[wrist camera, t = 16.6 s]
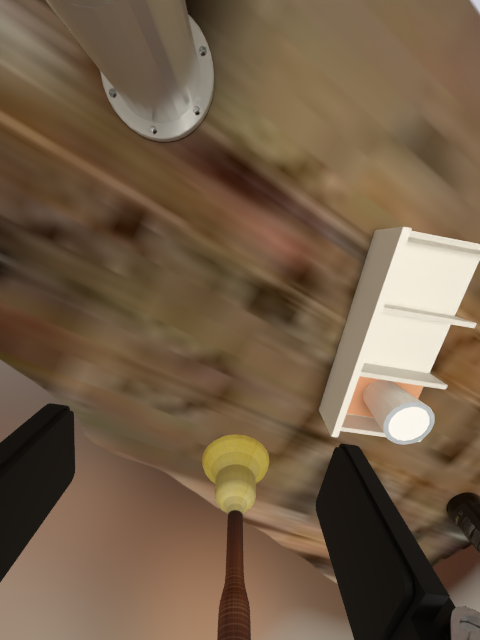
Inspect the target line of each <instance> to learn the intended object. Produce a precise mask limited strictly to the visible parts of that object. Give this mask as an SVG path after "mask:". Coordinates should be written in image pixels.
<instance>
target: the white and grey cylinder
mask: <svg viewBox="0 0 480 640" xmlns="http://www.w3.org/2000/svg"><path fill="white" fill-rule="evenodd" d="M363 401H364V402H365V404H366V405H367V407H368V409H369V410H370V412H371V413H372V415H373V416H374V418H375V420H376V421H377V423H378V424H379V426H380V427H381V429H382V431H383V432H384V434H385V435H386V437H387V438H388V439H389V440H390V441H392V442H394V443H396V444H403V445H405V444H411V443H415V442H417V441H419V440H421V439H423V438H424V437H425V436H426V435H427V434H428V433H429V432H430V431H431V429H432V427H433V425H434V413H433V412H432V410H431V408H430V407H428V406H427V405H425V404H424V403H423V402H421V401H420V400H418V399H417V398H415V397H414V396H412V395H411V394H410V393H408V392H407V391H405V390H404V389H402V388H401V387H399V386H398V385H397V384H395V383H394V382H392V381H387V380H381V379H379V380H375V381H373V382H372V383H370V384H369V385H368V386H367V387H366V388H365V390H364V393H363Z"/></svg>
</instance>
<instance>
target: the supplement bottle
mask: <svg viewBox="0 0 480 640" xmlns="http://www.w3.org/2000/svg"><path fill="white" fill-rule="evenodd" d="M447 510H448V513H449V515H450V517H451V518H452V519H453V521H454V522H455V523H456V525H457V526H458V527H459V528H460V530H461V531H462V532H463V533H464V535H465V536H466V537H467V539H468V540H469V541H470V542H471V544H472V545H473V546H474V547H475V549H476V550H477V551H478V553H479V554H480V497H479V496H477V495H475V494H471V493H465V494H461V495H458V496H456V497H455V498H453V499H452V500H451V501H450V502H449V504H448V508H447Z"/></svg>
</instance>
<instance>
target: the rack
mask: <svg viewBox="0 0 480 640" xmlns="http://www.w3.org/2000/svg"><path fill="white" fill-rule="evenodd" d="M411 229H412V228H407V227H397V228H388V229H380V230H375V231H374V234H373V237H372V241H371V244H370V247H369V250H368V253H367V257H366V260H365V263H364V266H363V269H362V273H361V276H360V279H359V282H358V285H357V289H356V292H355V295H354V298H353V301H352V305H351V308H350V311H349V314H348V317H347V321H346V324H345V327H344V330H343V333H342V337H341V340H340V343H339V346H338V349H337V353H336V356H335V359H334V362H333V365H332V369H331V372H330V375H329V378H328V381H327V384H326V388H325V391H324V394H323V397H322V400H321V404H320V407H319V412H320V414H321V416H322V418H323V420H324V422H325V424H326V426H327V428H328V430H329V432H330V434H331V436H333V437H338V436H339V433H340V431H345V432H352V433H360V434H367V435H374V436H381V437H386V435H385V434H384V432H383V431H382V429H381V427H380V426H379V424H378V423H377V421H376V420H375V418H374V416H373V415H372V413H371V412H370V410H369V409H368V407H367V405H366V404H365V402H364V401H363V393H364V390H365V388H366V387H367V386H368V385H369V384H370V383H372V382H373V381H375V380H379V379H381V380H387V381H392V382H394V383H395V384H397V385H398V386H399V387H401V388H402V389H404V390H405V391H407V392H408V393H410V394H411V395H412V396H414V397H415V398H417V399H418V398H419V395H420V393H421V391H422V389H423V386H426V387H433V388H439V389H445V390H446V388H447V385H446V384H445V383H443V382H442V381H440V380H439V379H437V378H436V377H434V376H433V375H431V374H430V371H431V368H432V366H433V364H434V362H435V359H436V357H437V355H438V353H439V350H440V348H441V346H442V344H443V341H444V339H445V337H446V335H447V332H448V330H449V328H450V326H451V324H453V325H458V326H464V327H470V328H475V326H476V324H477V323H474V322H471V321H468V320H465V319H462V318H459V317H456V316H455V314H456V312H457V310H458V307H459V305H460V303H461V301H462V298H463V296H464V294H465V292H466V289H467V287H468V285H469V283H470V280H471V278H472V276H473V274H474V271H475V269H476V267H477V265H478V262H479V260H480V244H477V243H472V242H466V241H461V240H456V239H451V238H446V237H441V236H435V235H430V234H425V233H420V232H415V231H411ZM421 440H422V439H421ZM421 440H419V441H417V442H421Z"/></svg>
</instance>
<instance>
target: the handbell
mask: <svg viewBox="0 0 480 640" xmlns="http://www.w3.org/2000/svg"><path fill="white" fill-rule="evenodd" d="M202 465H203V468H204V471H205V474H206V475H207V476H208V478H209V479H210V480H211V481H212V482H214V483H215V499H216V502H217V505H218V506H219V507H220V508H221V509H222V510H223V511H224V512H226V513H227V514H228V527H227V556H226V577H225V585H224V589H223V593H222V597H221V600H220V606H219V617H218V640H251V638H250V637H251V633H250V609H249V608H250V607H249V601H248V598H247V593H246V589H245V584H244V573H243V513H244V512H246V511H248V510H249V509H250V508H251V507H252V505H253V504H254V502H255V497H256V483H258V482H259V481H260V480H261V479H262V478H263V477H264V475H265V473H266V472H267V470H268V466H269V456H268V452H267V451H266V449H265V448H264V446H263V445H262V444H261V443H259V442H258V441H257V440H255V439H253V438H250V437H248V436H245V435H228V436H223V437H221V438H219V439H217V440H215V441H213V442H212V443H211V444H210V445H209V446H208V447H207V448H206V450H205V452H204V454H203V459H202Z"/></svg>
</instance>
